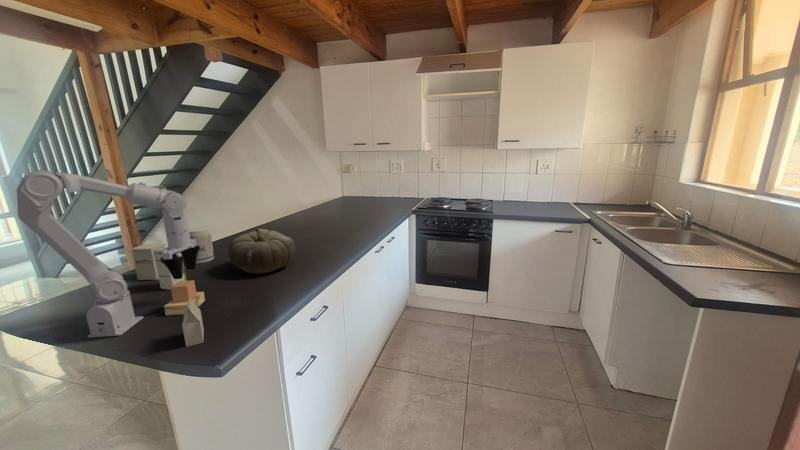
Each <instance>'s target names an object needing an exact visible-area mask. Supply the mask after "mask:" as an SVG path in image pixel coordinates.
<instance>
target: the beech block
mask: <svg viewBox="0 0 800 450" xmlns="http://www.w3.org/2000/svg"><path fill="white" fill-rule="evenodd" d="M196 294H197V295H196V296H195V297H194V298H193V299H192V301H193V302H194V304H195V305H196V306H197V307H198V308H199V307H200V306H201V305H202V304H203V303H204V302H205V301H206V298H205V297H206V296H205V291H196ZM187 305H188V302H173V299H171V300H170V301H168V302H167V304H165V305H164V306H163V309H164V314H165V316H180V315H183V316H184V312H185V310H186V307H187Z"/></svg>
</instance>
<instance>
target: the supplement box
mask: <svg viewBox="0 0 800 450" xmlns="http://www.w3.org/2000/svg"><path fill="white" fill-rule="evenodd" d="M164 247H166V246H165V243H142V244H140V245H139V246H135V247H132V248H131V253H132V257H133V263H134V266H135V268H134V269H135V272H136V278H137V280H138V281H140V280H142V281H144V280H146V281H147V280H148V281H149V280H150V281H151V280H155V281H157V280H159V277H158V272H157V268H156V263H155V258H154V254H153V251H154V250H157V249H160V248H164Z"/></svg>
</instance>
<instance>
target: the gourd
mask: <svg viewBox="0 0 800 450" xmlns="http://www.w3.org/2000/svg"><path fill="white" fill-rule="evenodd" d="M295 250H296V244H295V241H294V240H293V239H292V238H291V237H289V236H286V235H285V234H283V233H281V232H280V231H279V232H278V231H276V230H269V229H265V228H264V229H263V228H255V230H254V231H252V230H251V232H248V233H245V234H241V235H239V236H237V237H235V238H234V239H233V240H232V241H231V243H230V244H229V247H228V257H229V260H230V262H231V264H232V265H234V266H235V267H236V268H238V269H239V270H242V271H243V272H245V273H248V274H253V275H255V274H256V275H261V274H268V273H271V272H274V271H277V270H278V269H281V268H284V267H286V266H287V265H288V264H290V263H291V261H292V260H293V257H294V256H295Z"/></svg>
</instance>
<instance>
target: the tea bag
mask: <svg viewBox="0 0 800 450" xmlns="http://www.w3.org/2000/svg"><path fill="white" fill-rule="evenodd" d="M202 317H203V316H202V311H201V309H200V308H199V307H197V306H196V305H195V304H194V302H193V301H192V300H191V298H190V299H189V300H188V305H187V307H186V310H185V312H184V314H183V318H182V325H181V327H182V331H183V337H184V342H185V347H186V348H187V347H190V346H194V345H197V344H198V345H199V344H201V343H204V334H205V329H204V323H203V318H202Z"/></svg>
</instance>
